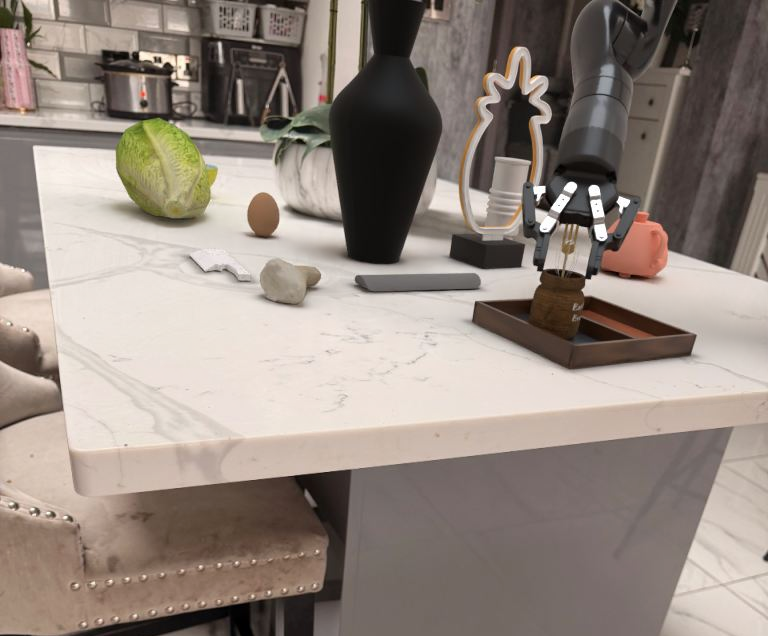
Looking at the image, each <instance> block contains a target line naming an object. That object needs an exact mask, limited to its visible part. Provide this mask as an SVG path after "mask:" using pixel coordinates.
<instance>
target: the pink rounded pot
mask: <svg viewBox="0 0 768 636" xmlns="http://www.w3.org/2000/svg"><path fill="white" fill-rule="evenodd" d="M649 217H650V213H648V212H645V211H638V214H637V217H636V219H635V221H634V222H633V224H632V226H631V228H630V230H629V232H628V234H627V236H626V238H625V240H624V242H623V244H622V245H621V247H620V249H619V250H618V251H616V252H613V251H611V250H606V251H604V252H603V257H602V262H601V266H600V268H602V270H603V271H607V272H617V273H618V277H621V278H625V279H626V278H627V279H628V278H631V275H634V276H640V277H642V278H646V279H647V278H648V279H652V278H653V277H652V276H656V275H658V274H659V273H660V272H661V271H663V270H664V269H665V268H666V267H667V264H668V258H669V257H668V256H669V249H668V248H669V247H668V243H669V235H668V234H667V232H666V231H665V230H664V228H663V226H662V224H660V223H658V222H655V221H651V220H648V218H649ZM619 221H620V218H619V217H618V219H616V221H614V222H613V223H612V225H611V226H610V227H609V228H608V229H606V232H607V233H614V231H615V229H616V227H617V225H618V223H619Z"/></svg>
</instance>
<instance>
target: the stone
mask: <svg viewBox="0 0 768 636" xmlns="http://www.w3.org/2000/svg"><path fill="white" fill-rule="evenodd" d="M321 280H322V273H321V272H320V270H319V269H318V268H317V267H315V266H310V265H294V264H292V263H291V262H287V261H285V260H283V259H281V258H278V257H277V258H271V259H269V260H267V262H266V263H265V265H264V267H263V268H262V270H261V271H260V274H259V284H260V288H261V289H262V290H263V292H264V295H265V296H266V298H267V299H268V300H271V301H273V302H278V303H284V304H293V305H296V304H300V303H302V302H303V301H304V300H305V298H306V295H307V288H308V287H309V288H311V287H314V286H316V285H318V284H319V282H320V281H321Z"/></svg>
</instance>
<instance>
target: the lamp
mask: <svg viewBox="0 0 768 636" xmlns="http://www.w3.org/2000/svg"><path fill="white" fill-rule="evenodd" d="M518 70H519V79H518V80H519V81H518V85H519V88H520V90H521V94H522V95H523V96H527V95H529V97H528V103H529V104H531V105H532V106H534V107H535V108H536V109H538V111H540V115H533V116H531V117H530V118H529V122H528V129H529V134H530V138H531V144H532V163H531V173H530V177H529V181H528V182H532V183H533V185H534V187H538V186H540V181H541V177H542V173H543V164H544V144H543V135H542V129H541V125H547V124H549V122H550V121H551V119H552V117H553V113H552V108H551V106H550V104H548V103H547V102H546V101H544V100H542V99H541V97H542V96H543V95H544V94H545V93H546V92H547V90H548V88H549V78H548V77H547V76H546V75H540V74H539V75H538V74H537V75H534V76H533V77H531V74H532V58H531V54H530V51H529V49H528V48H527V47H526V46H515V47H514V48H512V50H511V51H510V53H509V55H508V58H507V63H506V68H505V74H504V76H503V75H502V73H499V72H488V73H487V74H485V76H484V77H483V80H482V86H483V89H484V92H485V93H486V95H484V96H481V97H479V98H477V99H476V101H475V103H474V112H475V115H476V116H477V119H478V121H477V122H476V124H475V126H474V127H473V129H472V131H471V133H470V135H469V137H468V140H467V141H466V144H465V147H464V150H463V152H462V157H461V161H460V165H459V172H458V173H459V174H458V196H459V197H458V199H459V203H460V208H461V213H462V216H463V219H464V221H465V224H466V225H467V227H468V229H470V231H472V232H474V233H452V234H451V235H452V236H451V243H450V249H449V258H452V259H454V260H457V261H460V262H463V263H465V264H468V265H471V266H474V267H477V268H479V269H483V270H488V269H506V268H507V269H508V268H510V269H511V268H522V265H523V260H524V253H525V248H526V243H522V242H520V241H516V240H514V239H513V240H510V239H507V238H503V236H504V234H508V233H510V232H512V231H514V230H515V229H516V228H517V227H518V226H519V227H520V225H521V223H523V217H522V202H521V204H520V206H519V208H518V210H517V212H516V213H515V215H514V216H513V218H512V219H511V221H510V222H509V223H508V224H507V225H506V226H502V227H484V226H479V225H478V224H477V221H476V219H475V216H474V212H473V209H472V204H471V197H470V175H471V167H472V162H473V158H474V155H475V152H476V150H477V147H478V145H479V142H480V141H481V138H482V136H483V134H484V133H485V131H486V129H487V128H488V126H489V125H490V124H491V122H492V121H493V119H494V114H493V113H492V112H491V111H489V109H487V107H486V106H487V105H488V104H498V103H500V101H501V100H502V99H501V98H502V97H501V95H500V92H499V91H498V90H497V88H496V86H495V84H496V85H497V86H499V87H501V88H502V89H504V90H511V89H512V88H513V87H514V84H515V82H516V79H517V75H518ZM494 83H495V84H494Z"/></svg>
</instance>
